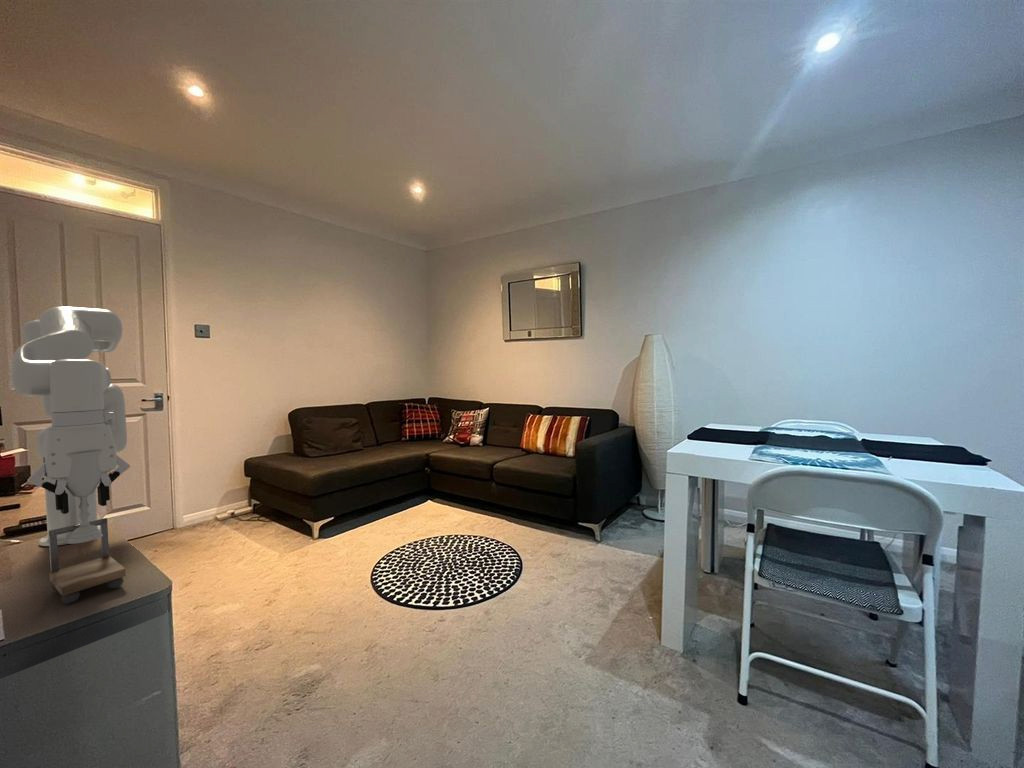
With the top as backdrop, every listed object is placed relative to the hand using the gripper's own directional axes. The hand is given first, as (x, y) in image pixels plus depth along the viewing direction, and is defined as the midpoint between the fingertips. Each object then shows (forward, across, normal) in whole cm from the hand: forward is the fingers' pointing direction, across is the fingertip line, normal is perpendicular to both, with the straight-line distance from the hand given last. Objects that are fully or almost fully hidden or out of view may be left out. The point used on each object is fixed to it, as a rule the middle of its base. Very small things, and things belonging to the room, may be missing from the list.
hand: (83, 507), depth 85 cm
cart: (+17, 0, 0) cm, 17 cm away
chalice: (+7, 0, 0) cm, 7 cm away
